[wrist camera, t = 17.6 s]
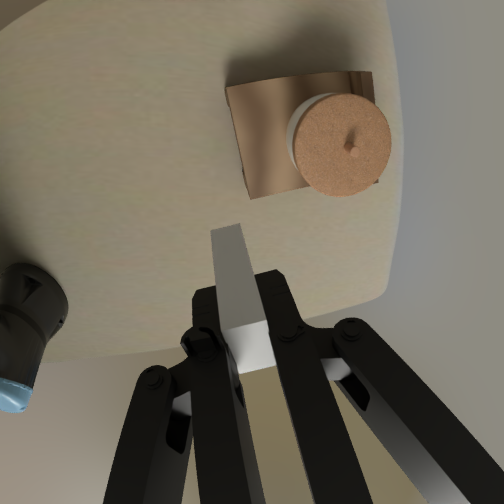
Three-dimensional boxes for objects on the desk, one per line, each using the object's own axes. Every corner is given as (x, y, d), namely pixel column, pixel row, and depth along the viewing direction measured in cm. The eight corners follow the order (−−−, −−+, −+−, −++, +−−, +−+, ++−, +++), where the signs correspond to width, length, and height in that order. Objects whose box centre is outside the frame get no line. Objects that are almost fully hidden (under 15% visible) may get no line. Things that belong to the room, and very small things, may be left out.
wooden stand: (245, 188, 39) (254, 210, 34) (223, 86, 31) (228, 88, 26) (353, 165, 40) (378, 182, 34) (344, 70, 32) (371, 71, 26)
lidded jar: (322, 188, 37) (354, 222, 29) (256, 140, 32) (275, 162, 24) (372, 127, 33) (417, 146, 25) (312, 70, 28) (350, 71, 20)
